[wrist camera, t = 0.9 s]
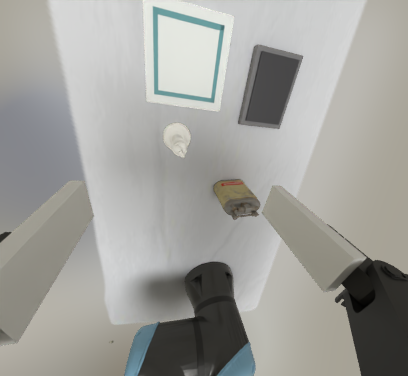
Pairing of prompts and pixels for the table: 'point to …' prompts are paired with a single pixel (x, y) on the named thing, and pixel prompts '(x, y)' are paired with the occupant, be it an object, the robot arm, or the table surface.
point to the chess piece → (177, 138)
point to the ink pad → (269, 86)
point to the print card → (185, 53)
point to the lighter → (236, 198)
